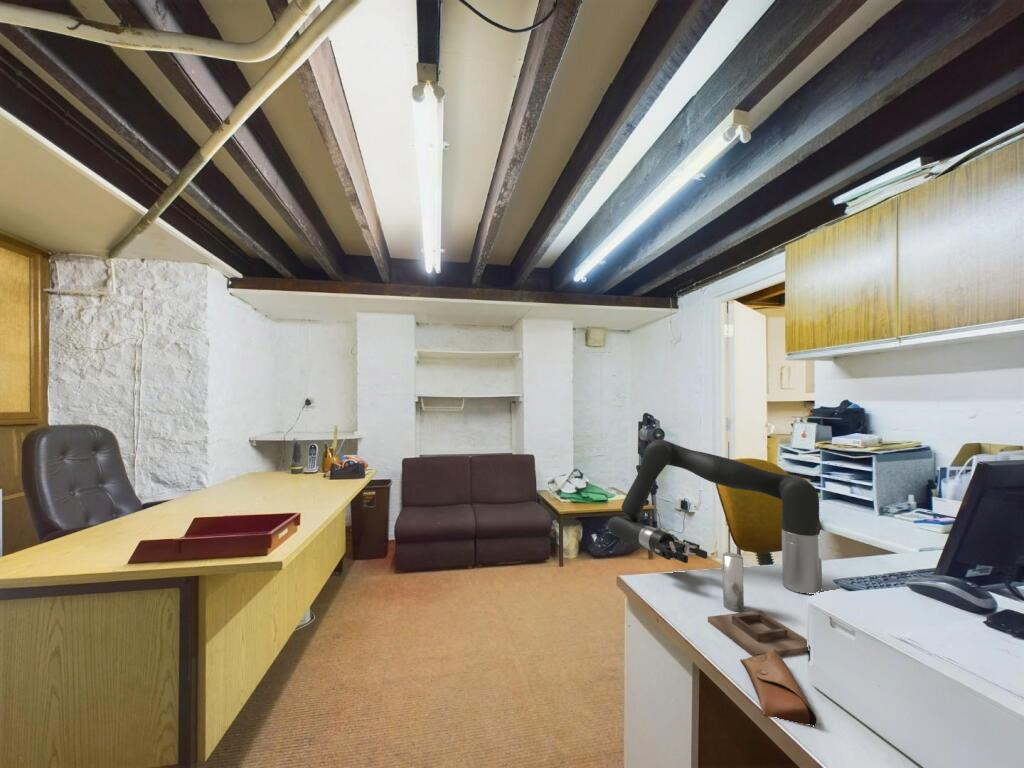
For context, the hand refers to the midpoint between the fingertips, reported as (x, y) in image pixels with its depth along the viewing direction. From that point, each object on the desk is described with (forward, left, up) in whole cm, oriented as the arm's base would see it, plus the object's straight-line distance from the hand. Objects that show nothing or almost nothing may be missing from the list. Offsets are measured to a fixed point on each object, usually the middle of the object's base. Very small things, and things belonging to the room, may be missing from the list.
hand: (697, 557), depth 123 cm
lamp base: (+1, +24, -10) cm, 26 cm away
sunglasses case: (+13, +40, -10) cm, 44 cm away
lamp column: (-3, +11, -10) cm, 15 cm away
